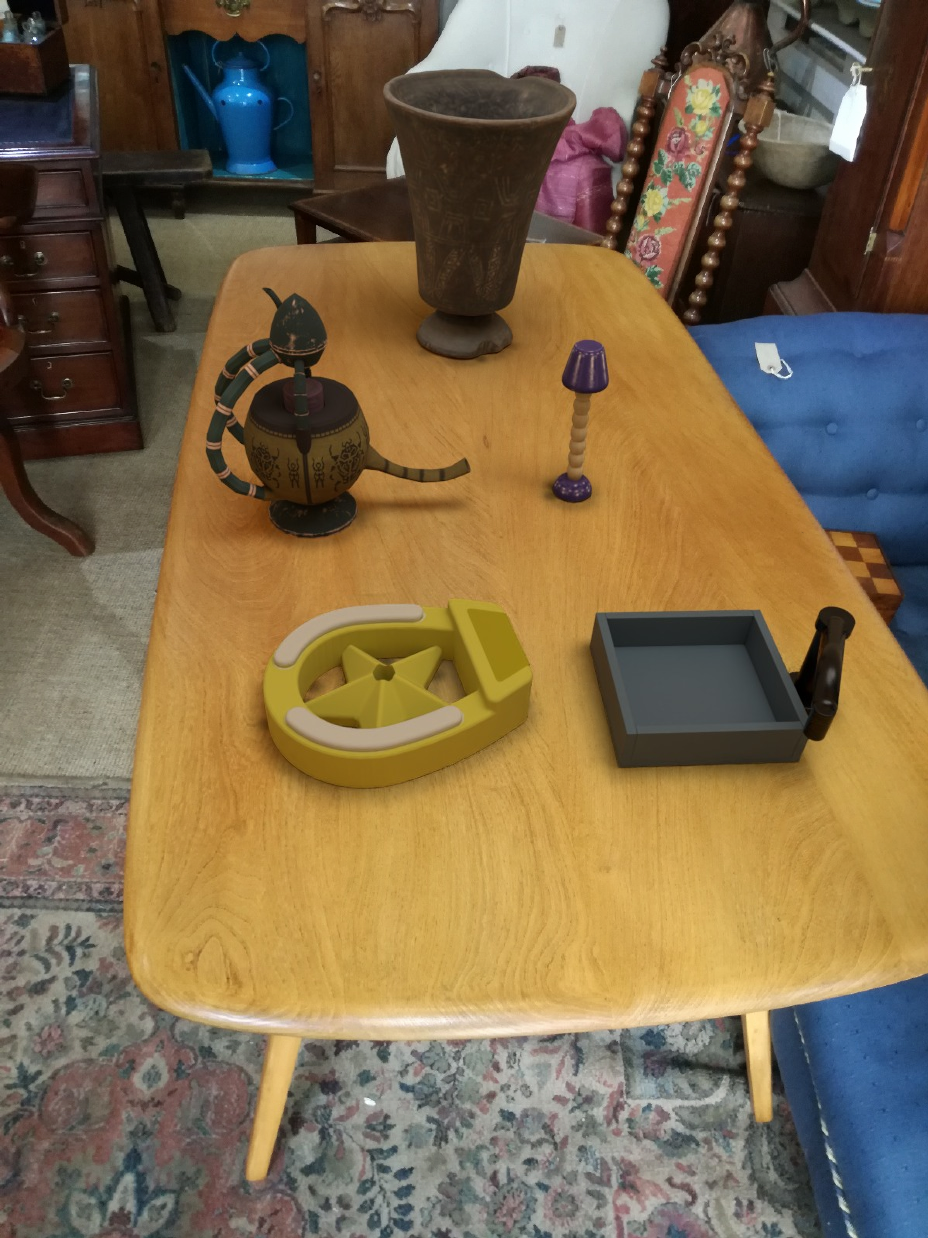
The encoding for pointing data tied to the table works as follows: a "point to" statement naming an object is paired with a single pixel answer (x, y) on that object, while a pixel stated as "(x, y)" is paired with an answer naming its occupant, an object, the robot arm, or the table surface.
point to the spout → (828, 669)
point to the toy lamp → (581, 413)
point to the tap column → (807, 674)
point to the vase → (473, 191)
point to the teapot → (300, 430)
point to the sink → (696, 689)
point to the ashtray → (395, 690)
